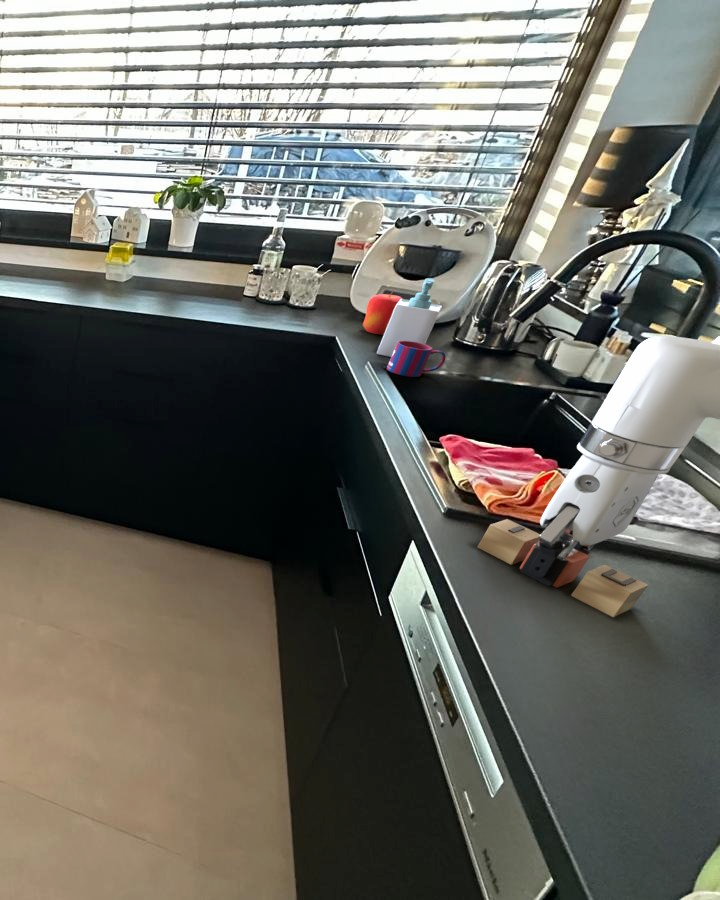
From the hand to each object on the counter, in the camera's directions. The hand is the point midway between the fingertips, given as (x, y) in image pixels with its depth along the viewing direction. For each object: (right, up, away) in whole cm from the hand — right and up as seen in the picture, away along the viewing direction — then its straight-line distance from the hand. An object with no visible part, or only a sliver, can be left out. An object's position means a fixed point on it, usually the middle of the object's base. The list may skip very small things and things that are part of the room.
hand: (546, 573), depth 79 cm
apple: (+50, +49, +98) cm, 121 cm away
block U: (+2, -3, -4) cm, 6 cm away
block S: (0, 0, 0) cm, 0 cm away
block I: (-2, +2, +4) cm, 5 cm away
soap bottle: (+43, +40, +81) cm, 100 cm away
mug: (+36, +33, +67) cm, 83 cm away
